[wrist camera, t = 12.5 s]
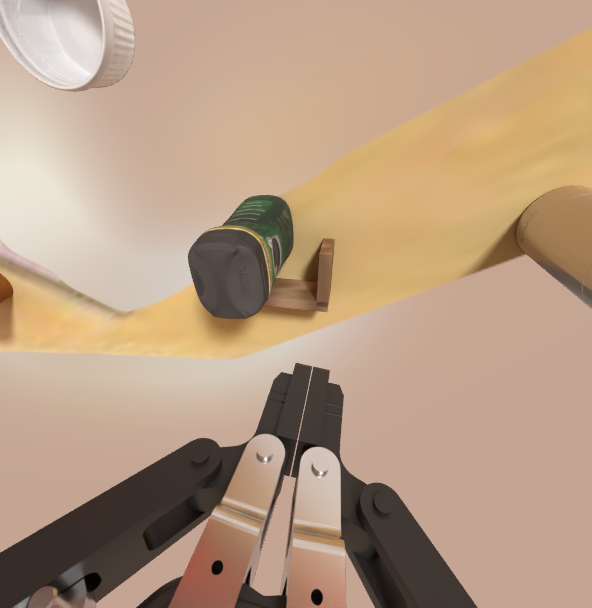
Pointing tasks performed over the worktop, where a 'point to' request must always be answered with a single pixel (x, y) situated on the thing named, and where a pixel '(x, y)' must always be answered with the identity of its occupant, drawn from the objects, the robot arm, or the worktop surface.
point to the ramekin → (70, 40)
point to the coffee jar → (242, 257)
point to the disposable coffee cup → (5, 288)
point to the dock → (306, 286)
